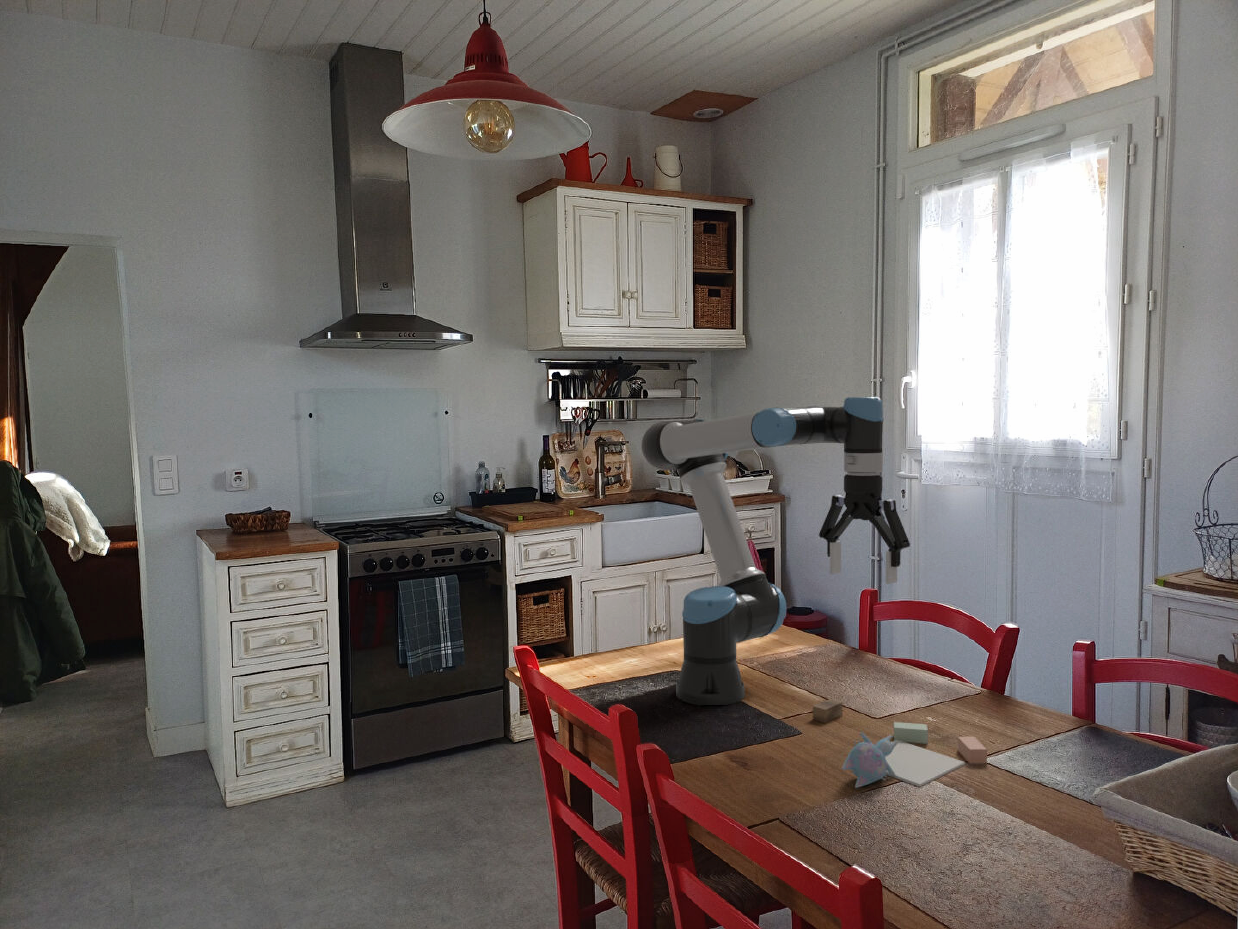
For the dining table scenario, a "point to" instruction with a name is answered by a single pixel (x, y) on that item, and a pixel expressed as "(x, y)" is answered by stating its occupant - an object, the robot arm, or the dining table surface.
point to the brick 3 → (972, 750)
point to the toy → (869, 760)
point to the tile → (919, 764)
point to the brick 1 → (827, 710)
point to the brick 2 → (911, 732)
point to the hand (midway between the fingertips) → (862, 578)
